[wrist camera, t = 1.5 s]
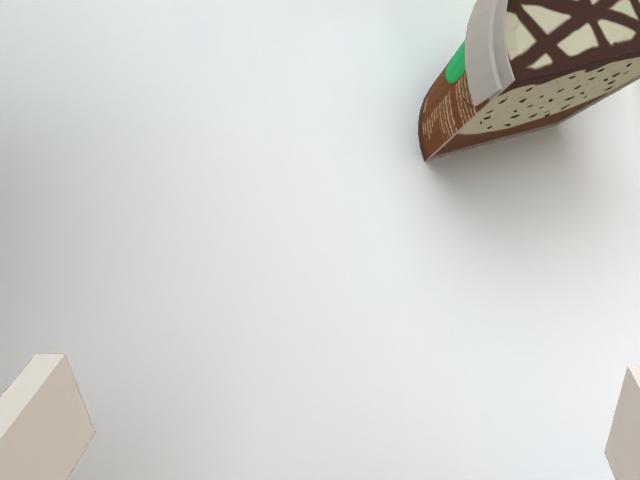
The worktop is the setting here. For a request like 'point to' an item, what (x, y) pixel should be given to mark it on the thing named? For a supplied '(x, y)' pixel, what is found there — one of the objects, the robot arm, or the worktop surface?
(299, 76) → the worktop surface
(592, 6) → the food container
